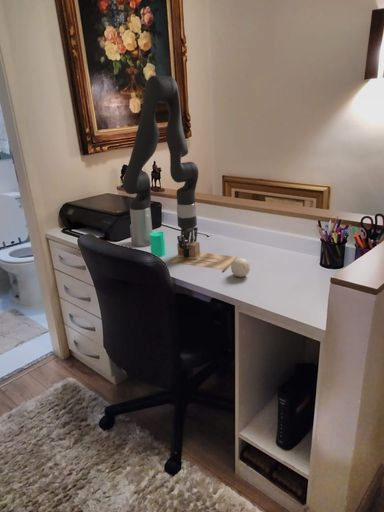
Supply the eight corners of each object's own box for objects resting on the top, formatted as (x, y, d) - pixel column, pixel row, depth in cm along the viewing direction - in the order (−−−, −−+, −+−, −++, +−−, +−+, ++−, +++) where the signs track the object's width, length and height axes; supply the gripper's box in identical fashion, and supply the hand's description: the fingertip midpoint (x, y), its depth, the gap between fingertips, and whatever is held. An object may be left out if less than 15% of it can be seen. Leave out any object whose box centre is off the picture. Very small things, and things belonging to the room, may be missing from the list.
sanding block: (178, 257, 156) (177, 243, 154) (182, 254, 160) (181, 240, 158) (195, 259, 153) (195, 245, 151) (200, 256, 156) (199, 242, 154)
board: (168, 264, 153) (167, 261, 153) (184, 252, 165) (183, 250, 165) (223, 272, 143) (223, 269, 143) (236, 259, 155) (236, 256, 154)
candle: (168, 255, 163) (166, 228, 159) (161, 260, 158) (159, 232, 154) (156, 253, 166) (153, 227, 161) (148, 258, 161) (146, 231, 156)
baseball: (234, 281, 135) (234, 263, 133) (228, 273, 142) (228, 256, 140) (253, 278, 137) (253, 261, 134) (246, 271, 143) (246, 254, 141)
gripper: (186, 209, 157) (188, 248, 164) (169, 218, 146) (172, 260, 152) (203, 210, 154) (204, 250, 160) (187, 220, 142) (189, 262, 149)
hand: (188, 255), depth 156 cm, fingers closed on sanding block, 4 cm apart
